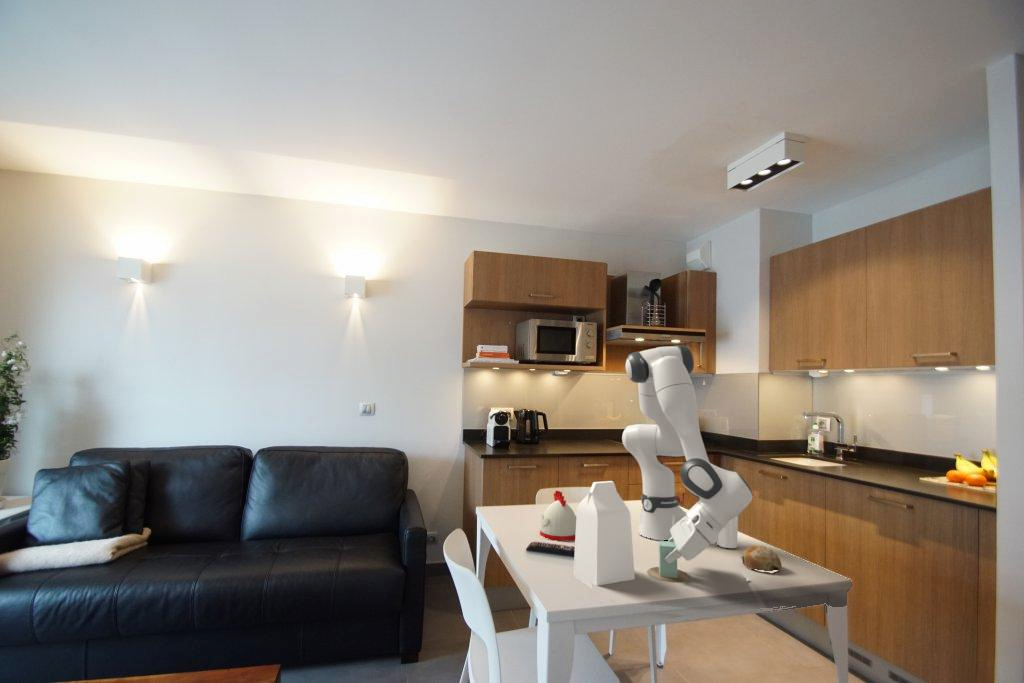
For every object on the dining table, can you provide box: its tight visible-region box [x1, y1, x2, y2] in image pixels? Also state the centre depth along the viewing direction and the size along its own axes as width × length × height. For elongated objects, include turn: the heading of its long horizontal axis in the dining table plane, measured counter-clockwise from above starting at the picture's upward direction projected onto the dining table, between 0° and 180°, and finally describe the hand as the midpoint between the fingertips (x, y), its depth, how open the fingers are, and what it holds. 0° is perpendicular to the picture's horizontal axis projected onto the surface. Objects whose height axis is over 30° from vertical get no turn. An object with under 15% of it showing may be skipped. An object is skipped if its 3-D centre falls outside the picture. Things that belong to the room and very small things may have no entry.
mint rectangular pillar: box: [658, 540, 678, 578], centre depth 132 cm, size 4×4×8 cm
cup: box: [716, 515, 739, 549], centre depth 162 cm, size 8×8×14 cm
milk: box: [573, 480, 636, 589], centre depth 132 cm, size 12×12×26 cm
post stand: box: [646, 566, 690, 584], centre depth 132 cm, size 11×11×7 cm
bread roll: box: [740, 545, 782, 571], centre depth 143 cm, size 10×10×8 cm
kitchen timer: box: [539, 490, 576, 542], centre depth 172 cm, size 14×14×15 cm
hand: (665, 556), depth 133 cm, fingers open, 6 cm apart
